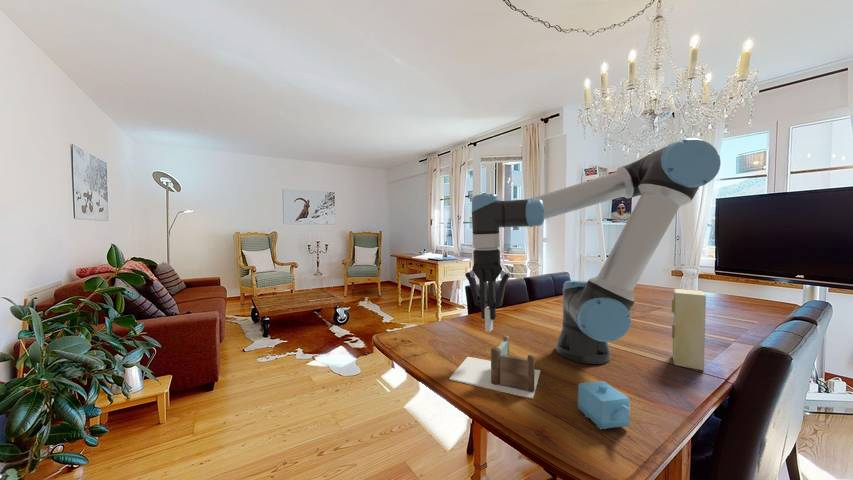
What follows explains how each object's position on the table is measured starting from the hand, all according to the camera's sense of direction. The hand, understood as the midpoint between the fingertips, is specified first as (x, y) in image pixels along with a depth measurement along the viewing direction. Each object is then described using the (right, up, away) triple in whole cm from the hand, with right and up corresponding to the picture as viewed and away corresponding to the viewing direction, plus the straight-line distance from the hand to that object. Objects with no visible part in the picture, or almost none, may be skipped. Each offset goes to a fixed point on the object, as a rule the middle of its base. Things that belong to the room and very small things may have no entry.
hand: (489, 330), depth 91 cm
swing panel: (+3, -10, -5) cm, 11 cm away
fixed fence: (+3, -10, -12) cm, 17 cm away
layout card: (+1, -11, -6) cm, 12 cm away
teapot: (+18, -12, -27) cm, 34 cm away
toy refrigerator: (+58, -10, +1) cm, 58 cm away
